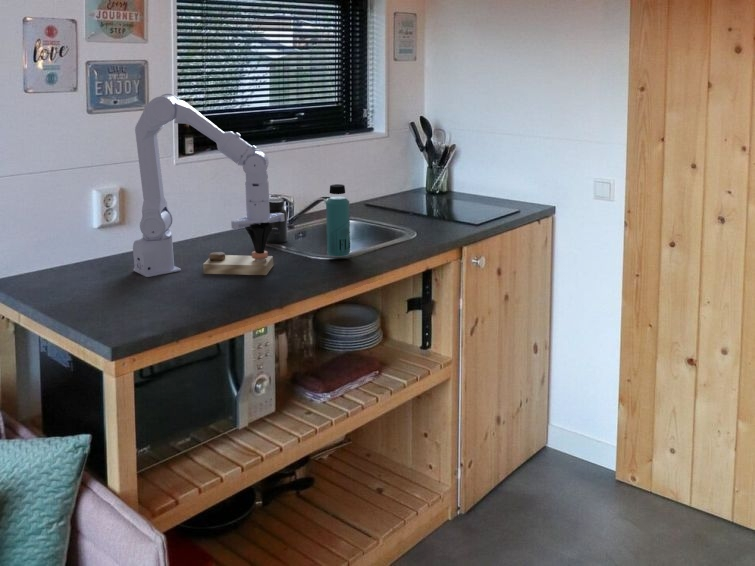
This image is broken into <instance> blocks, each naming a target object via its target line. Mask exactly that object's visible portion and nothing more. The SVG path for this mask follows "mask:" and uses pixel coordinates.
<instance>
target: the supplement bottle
mask: <svg viewBox="0 0 755 566" xmlns="http://www.w3.org/2000/svg"><path fill="white" fill-rule="evenodd" d="M284 206H285V205H284V200H283V199H281V198H271V199H270V198H269V211H270V214H273V213H283V214H284V219H285V221H282V222H281V221H278V222H272V223H269V224H270V225H272V230H271V232H270V234H269V236H268V238H267V242H266V244H283V243H286V242H287V240H288V212H287V210H286V209H284Z"/></svg>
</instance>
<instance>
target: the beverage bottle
mask: <svg viewBox="0 0 755 566" xmlns="http://www.w3.org/2000/svg"><path fill="white" fill-rule="evenodd" d="M329 194H331V195H335V196H330V197H329V198H328V199H327V200H326V201H325V206H326V207H325V208H326V210H325V211H326V212H325V214H326V219H325V220H326V243H325V244H326V253H327V255H329V256H331V257H345V256H349V255H350V253H351V234H350V233H351V228H350V227H351V221H350V219H351V214H350V201H349V200H348V198H346V197H345V196H339V195H344V194H346V187H345V185H344V184H331V185H329ZM336 195H338V196H336Z"/></svg>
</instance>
